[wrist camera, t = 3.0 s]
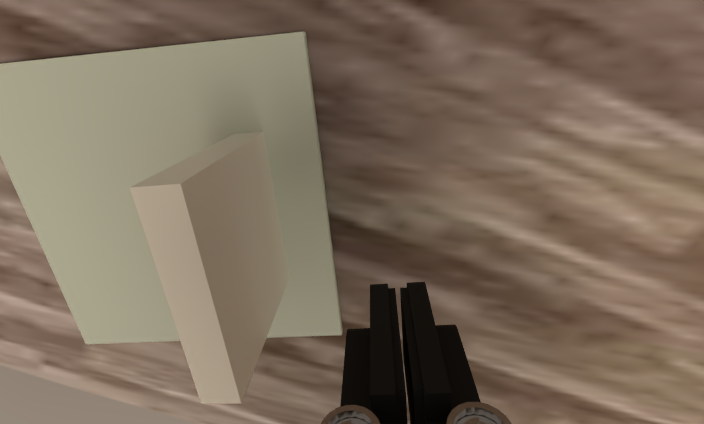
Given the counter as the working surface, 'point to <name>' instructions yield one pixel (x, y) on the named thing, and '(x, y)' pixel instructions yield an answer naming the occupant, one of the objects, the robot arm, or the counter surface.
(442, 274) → the counter surface
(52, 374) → the counter surface
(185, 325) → the tile
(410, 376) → the robot arm
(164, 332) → the mat
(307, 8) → the counter surface
